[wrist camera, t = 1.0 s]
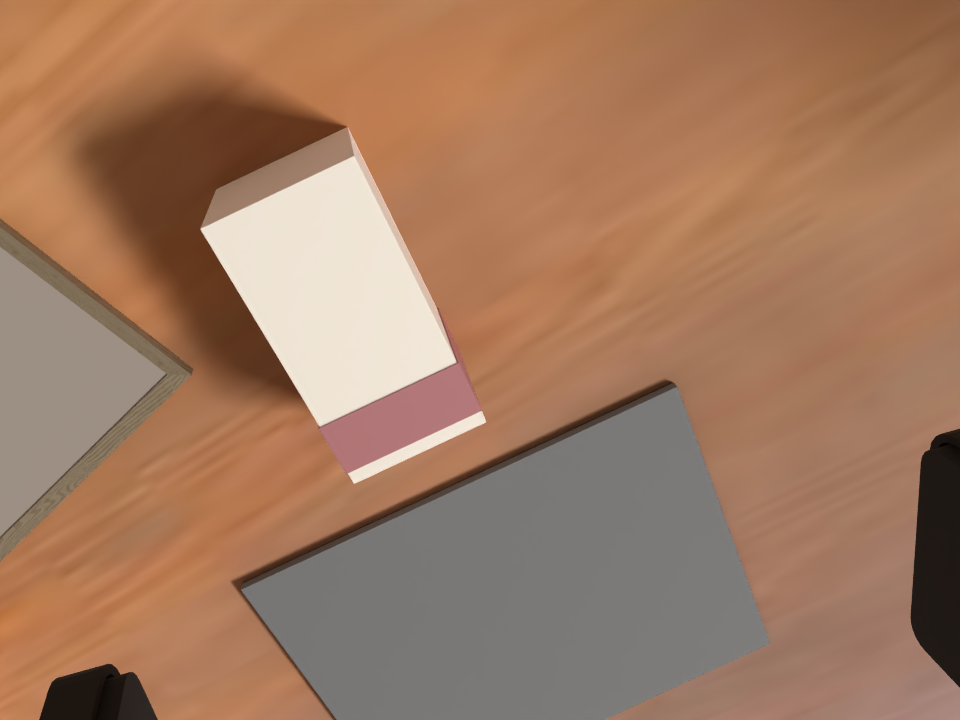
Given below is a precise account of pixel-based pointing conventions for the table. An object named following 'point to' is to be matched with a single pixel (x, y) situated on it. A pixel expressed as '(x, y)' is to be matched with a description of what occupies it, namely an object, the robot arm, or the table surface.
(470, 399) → the card box
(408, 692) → the mat
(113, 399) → the picture frame
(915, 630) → the robot arm
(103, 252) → the table surface
